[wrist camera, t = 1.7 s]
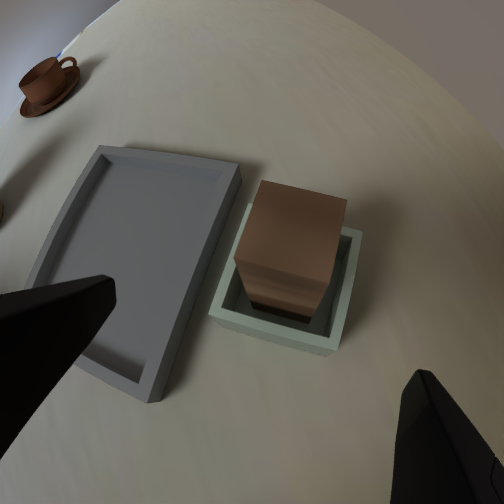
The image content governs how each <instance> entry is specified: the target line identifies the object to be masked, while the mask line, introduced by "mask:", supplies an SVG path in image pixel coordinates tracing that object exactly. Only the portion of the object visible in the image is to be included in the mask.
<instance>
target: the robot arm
mask: <svg viewBox="0 0 504 504" xmlns="http://www.w3.org/2000/svg"><path fill="white" fill-rule="evenodd" d="M116 303H117V297H116V285H115V280H114V279H113V278H112V277H109V276H107V275H104V274H101V275H96V276H91V277H86V278H81V279H76V280H71V281H66V282H61V283H56V284H51V285H46V286H41V287H36V288H31V289H26V290H21V291H16V292H11V293H6V294H4V295H3V294H1V295H0V460H1V458H2V457H3V455H4V454H5V452H6V451H7V450H8V448H9V447H10V445H11V444H12V443H13V441H14V440H15V438H16V437H17V436H18V434H19V432H20V431H21V430H22V428H23V427H24V426H25V424H26V423H27V422H28V420H29V419H30V418H31V416H32V415H33V414H34V412H35V411H36V410H37V409H38V407H39V406H40V405H41V403H42V402H43V401H44V399H45V398H46V397H47V396H48V394H49V393H50V392H51V391H52V389H53V388H54V387H55V386H56V384H57V383H58V382H59V381H60V379H61V378H62V377H63V376H64V374H65V373H66V372H67V371H68V369H69V368H70V367H71V366H72V365H73V363H74V362H75V361H76V360H77V358H78V357H79V356H80V355H81V354H82V352H83V351H84V350H85V349H86V348H87V346H88V345H89V344H90V343H91V341H92V340H93V339H94V337H95V336H96V334H97V333H98V331H99V330H100V328H101V327H102V326H103V324H104V323H105V321H106V320H107V318H108V317H109V315H110V314H111V313H112V311H113V310H114V308H115V306H116ZM390 504H504V467H503V465H502V464H501V463H500V461H499V460H498V458H497V457H495V454H494V453H493V451H492V450H491V449H490V447H489V446H488V444H487V443H486V442H485V440H484V439H483V438H482V436H481V435H480V433H479V432H478V431H477V429H476V428H475V427H474V425H473V424H472V423H471V421H470V420H469V419H468V418H467V416H466V415H465V414H464V412H463V411H462V410H461V408H460V407H459V406H458V405H457V403H456V402H455V401H454V399H453V398H452V397H451V396H450V394H449V393H448V392H447V391H446V389H445V388H444V387H443V386H442V384H441V383H440V382H439V381H438V379H437V378H436V377H435V376H434V374H433V373H432V372H431V371H428V370H422V369H418V370H416V371H415V373H414V374H413V376H412V377H411V379H410V380H409V382H408V384H407V385H406V387H405V388H404V390H403V392H402V396H401V404H400V413H399V420H398V427H397V434H396V441H395V454H394V469H393V481H392V491H391V499H390Z"/></svg>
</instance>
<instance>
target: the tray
mask: <svg viewBox="0 0 504 504" xmlns="http://www.w3.org/2000/svg"><path fill="white" fill-rule="evenodd" d="M241 182H242V180H241V174H240V169H239V164H236V163H231V162H225V161H219V160H213V159H207V158H201V157H194V156H188V155H181V154H174V153H166V152H159V151H151V150H142V149H134V148H124V147H114V146H103V145H99V147H98V148H97V150H96V151H95V153H94V154H93V156H92V157H91V159H90V160H89V162H88V163H87V165H86V167H85V168H84V170H83V171H82V173H81V175H80V176H79V178H78V180H77V181H76V183H75V185H74V187H73V188H72V190H71V192H70V193H69V195H68V197H67V199H66V201H65V202H64V204H63V206H62V208H61V210H60V212H59V214H58V215H57V217H56V219H55V221H54V223H53V225H52V227H51V229H50V231H49V233H48V235H47V237H46V239H45V242H44V244H43V246H42V248H41V250H40V252H39V255H38V257H37V259H36V261H35V264H34V266H33V268H32V271H31V273H30V276H29V278H28V280H27V283H26V286H25V288H24V290H26V289H31V288H36V287H41V286H46V285H51V284H56V283H61V282H66V281H71V280H76V279H81V278H86V277H91V276H96V275H101V274H104V275H107V276H109V277H112V278H113V279H114V280H115V285H116V297H117V303H116V306H115V308H114V310H113V311H112V313H111V314H110V315H109V317H108V318H107V320H106V321H105V323H104V324H103V326H102V327H101V328H100V330H99V331H98V333H97V334H96V336H95V337H94V339H93V340H92V341H91V343H90V344H89V345H88V346H87V348H86V349H85V350H84V351H83V352H82V354H81V355H80V356H79V357H78V358H77V360H76V361H75V362H74V363H73V364H75V365H76V366H78V367H79V368H81V369H83V370H85V371H86V372H88V373H90V374H91V375H93V376H95V377H97V378H98V379H100V380H102V381H104V382H106V383H107V384H109V385H111V386H113V387H115V388H117V389H119V390H121V391H123V392H125V393H126V394H128V395H130V396H132V397H134V398H137V399H139V400H141V401H143V402H145V403H154V402H160V400H161V397H162V394H163V391H164V388H165V385H166V382H167V379H168V377H169V374H170V371H171V368H172V365H173V362H174V359H175V356H176V353H177V351H178V348H179V345H180V342H181V339H182V336H183V334H184V331H185V328H186V325H187V322H188V320H189V317H190V314H191V311H192V309H193V306H194V303H195V300H196V298H197V295H198V292H199V290H200V287H201V284H202V282H203V279H204V276H205V274H206V271H207V268H208V266H209V263H210V260H211V258H212V255H213V253H214V250H215V247H216V245H217V242H218V240H219V237H220V235H221V232H222V229H223V227H224V224H225V222H226V219H227V217H228V214H229V212H230V209H231V207H232V204H233V202H234V199H235V197H236V194H237V192H238V189H239V187H240V184H241Z"/></svg>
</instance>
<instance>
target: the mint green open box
mask: <svg viewBox="0 0 504 504" xmlns="http://www.w3.org/2000/svg"><path fill="white" fill-rule="evenodd" d="M252 205H253V204H249V203H248V206H247V209H246V211H245V214H244V217H243V219H242V222H241V225H240V227H239V230H238V233H237V235H236V238H235V241H234V244H233V246H232V249H231V252H230V254H229V257H228V260H227V263H226V265H225V268H224V271H223V274H222V276H221V279H220V282H219V285H218V288H217V290H216V293H215V296H214V299H213V301H212V304H211V307H210V310H209V313H208V315H209V316H210V317H211V318H213V319H214V320H215V321H216V322H217V323H218V324H219V325H220V326H221V327H224V328H227V329H230V330H233V331H236V332H240V333H243V334H246V335H249V336H253V337H256V338H259V339H263V340H266V341H270V342H273V343H277V344H280V345H284V346H288V347H291V348H295V349H299V350H302V351H306V352H310V353H314V354H318V355H322V356H328V355H330V354H332V353H334V352H336V351H337V350H338V346H339V342H340V338H341V335H342V331H343V327H344V322H345V318H346V314H347V310H348V305H349V301H350V296H351V292H352V287H353V283H354V278H355V273H356V268H357V263H358V257H359V252H360V246H361V241H362V235H363V231H360V230H356V229H352V228H348V227H345V226H342V229H341V234H340V239H339V244H338V248H337V253H336V257H335V262H334V266H333V271H332V275H331V279H330V283H329V285H328V287H327V289H326V291H325V293H324V295H323V297H322V299H321V301H320V303H319V305H318V307H317V309H316V311H315V313H314V315H313V317H312V319H311V321H310V323H309V324H306V323H302V322H298V321H294V320H291V319H287V318H283V317H280V316H276V315H273V314H269V313H266V312H262V311H259V310H255V309H253V308H252V305H251V303H250V300H249V297H248V295H247V292H246V290H245V287H244V285H243V282H242V279H241V277H240V274H239V272H238V269H237V266H236V264H235V261H234V259H233V257H234V254H235V252H236V249H237V246H238V243H239V241H240V238H241V235H242V232H243V230H244V227H245V224H246V221H247V219H248V216H249V213H250V210H251V208H252Z"/></svg>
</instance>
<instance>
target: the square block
mask: <svg viewBox="0 0 504 504" xmlns="http://www.w3.org/2000/svg"><path fill="white" fill-rule="evenodd" d="M346 204H347V200H346V199H342V198H338V197H334V196H330V195H326V194H322V193H317V192H313V191H309V190H305V189H300V188H296V187H292V186H287V185H283V184H278V183H274V182H269V181H264V180H262V181H261V183H260V186H259V189H258V191H257V194H256V197H255V200H254V202H253V205H252V208H251V210H250V213H249V216H248V219H247V221H246V224H245V227H244V230H243V232H242V235H241V238H240V241H239V243H238V246H237V249H236V252H235V254H234V257H233V259H234V261H235V264H236V266H237V269H238V272H239V274H240V277H241V279H242V282H243V285H244V287H245V290H246V292H247V295H248V297H249V300H250V303H251V305H252V308H253V309H255V310H259V311H262V312H266V313H269V314H273V315H276V316H280V317H283V318H287V319H291V320H294V321H298V322H302V323H306V324H309V323H310V321H311V319H312V317H313V315H314V313H315V311H316V309H317V307H318V305H319V303H320V301H321V299H322V297H323V295H324V293H325V291H326V289H327V287H328V285H329V283H330V279H331V275H332V271H333V266H334V262H335V257H336V253H337V248H338V244H339V239H340V234H341V229H342V224H343V219H344V214H345V209H346Z"/></svg>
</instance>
